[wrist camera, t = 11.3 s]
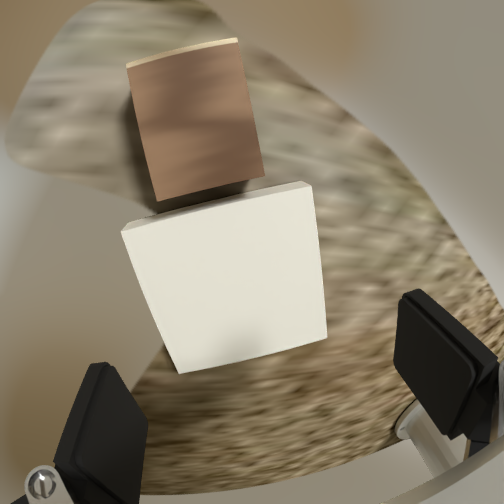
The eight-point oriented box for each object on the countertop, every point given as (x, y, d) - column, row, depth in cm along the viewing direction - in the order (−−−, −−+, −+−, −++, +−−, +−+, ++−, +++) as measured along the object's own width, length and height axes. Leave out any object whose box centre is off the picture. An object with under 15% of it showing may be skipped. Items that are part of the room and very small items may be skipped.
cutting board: (301, 180, 20) (311, 185, 18) (319, 323, 25) (327, 337, 23) (128, 222, 19) (120, 231, 18) (179, 357, 24) (178, 373, 22)
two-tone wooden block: (254, 168, 19) (231, 53, 16) (265, 175, 16) (236, 37, 13) (165, 190, 19) (139, 74, 16) (157, 201, 16) (126, 63, 13)
